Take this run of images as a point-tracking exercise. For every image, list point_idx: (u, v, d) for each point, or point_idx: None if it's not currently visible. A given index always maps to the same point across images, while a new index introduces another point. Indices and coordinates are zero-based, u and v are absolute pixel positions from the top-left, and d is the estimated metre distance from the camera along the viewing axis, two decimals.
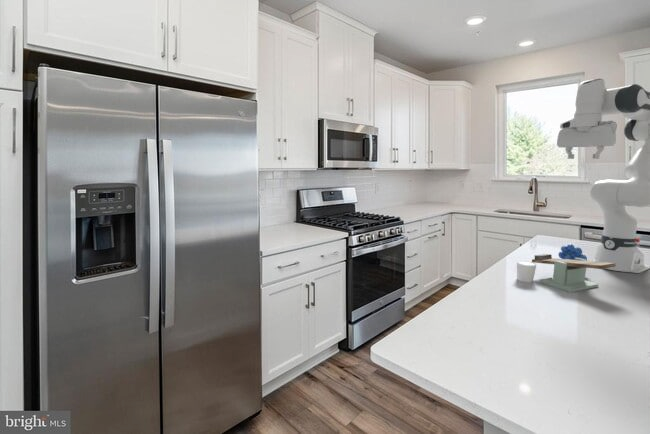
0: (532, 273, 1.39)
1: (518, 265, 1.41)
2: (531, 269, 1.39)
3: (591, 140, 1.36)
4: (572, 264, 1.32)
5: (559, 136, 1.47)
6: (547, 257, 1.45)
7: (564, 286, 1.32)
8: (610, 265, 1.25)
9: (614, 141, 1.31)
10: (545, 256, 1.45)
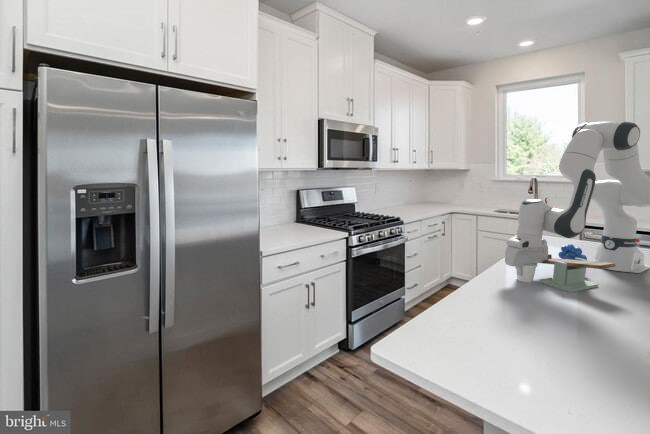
0: (532, 273, 1.39)
1: None
2: (531, 269, 1.39)
3: (537, 257, 1.41)
4: (572, 264, 1.32)
5: (516, 255, 1.35)
6: None
7: (564, 286, 1.32)
8: (610, 265, 1.25)
9: None
10: None
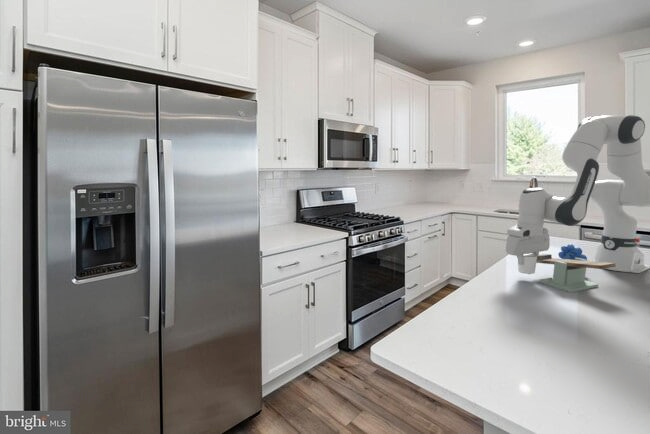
0: (533, 264, 1.39)
1: None
2: (532, 260, 1.39)
3: (538, 246, 1.40)
4: (572, 264, 1.32)
5: (517, 244, 1.35)
6: (547, 257, 1.45)
7: (564, 286, 1.32)
8: (610, 265, 1.25)
9: None
10: (545, 256, 1.45)
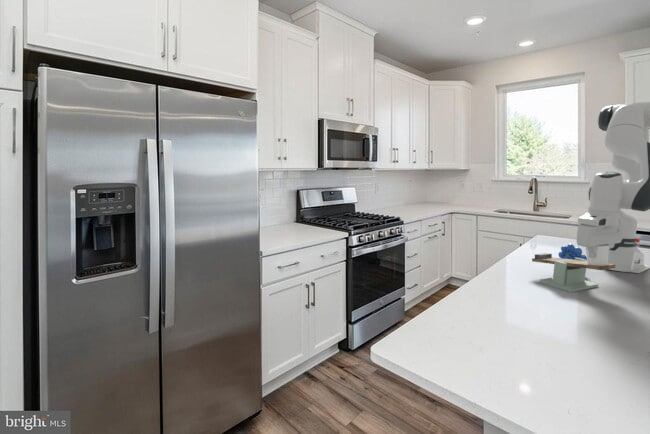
0: (606, 255, 1.24)
1: None
2: (605, 250, 1.24)
3: (612, 238, 1.26)
4: (572, 264, 1.32)
5: (591, 234, 1.20)
6: (547, 256, 1.45)
7: (564, 286, 1.32)
8: (610, 266, 1.25)
9: None
10: (545, 255, 1.45)
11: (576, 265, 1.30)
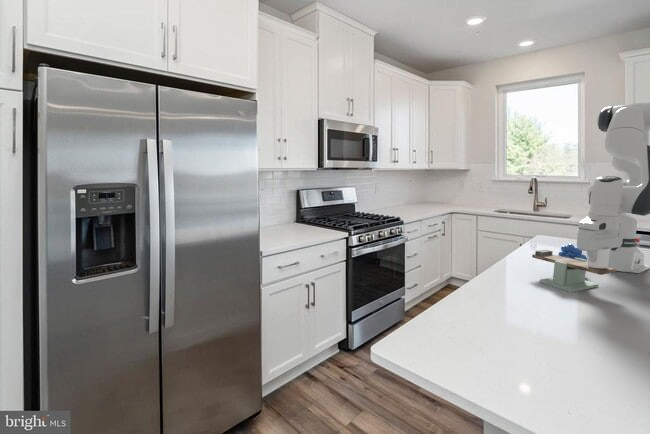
0: (607, 257, 1.24)
1: None
2: (606, 253, 1.24)
3: (612, 242, 1.26)
4: (572, 265, 1.32)
5: (592, 239, 1.20)
6: (548, 253, 1.45)
7: (564, 286, 1.32)
8: (610, 271, 1.25)
9: None
10: (546, 252, 1.44)
11: (576, 267, 1.30)
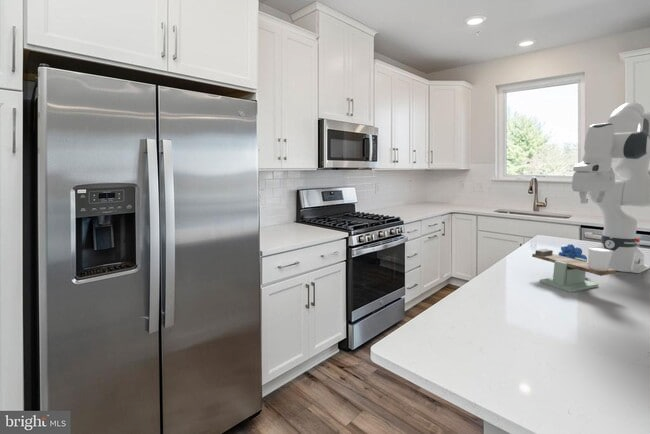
0: (608, 260, 1.24)
1: (591, 252, 1.26)
2: (608, 256, 1.24)
3: (604, 185, 1.36)
4: (572, 266, 1.32)
5: (585, 180, 1.31)
6: (548, 253, 1.45)
7: (564, 286, 1.32)
8: (610, 272, 1.25)
9: None
10: (546, 252, 1.44)
11: (576, 267, 1.30)
